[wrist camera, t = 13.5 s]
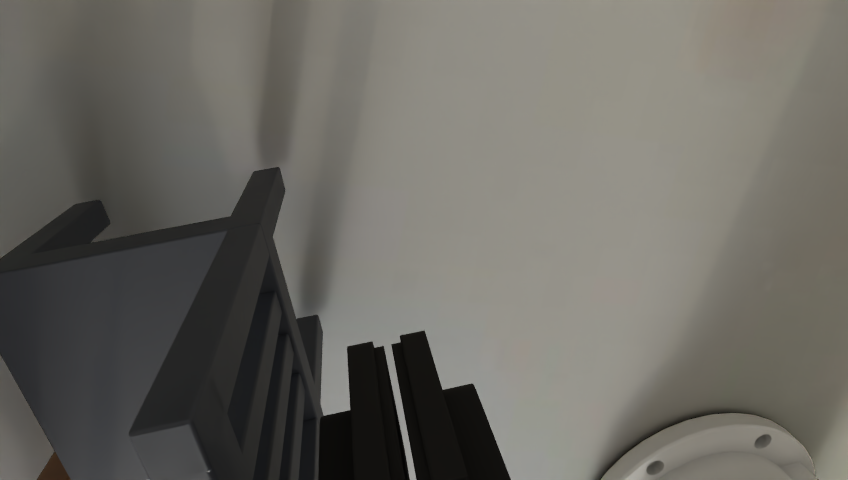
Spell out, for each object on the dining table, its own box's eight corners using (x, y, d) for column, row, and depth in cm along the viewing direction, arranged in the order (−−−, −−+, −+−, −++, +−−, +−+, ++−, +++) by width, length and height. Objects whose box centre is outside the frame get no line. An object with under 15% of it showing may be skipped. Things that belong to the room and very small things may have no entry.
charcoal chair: (281, 162, 18) (191, 420, 7) (326, 334, 21) (317, 726, 10) (69, 201, 18) (-434, 557, 6) (144, 372, 21) (-104, 840, 9)
